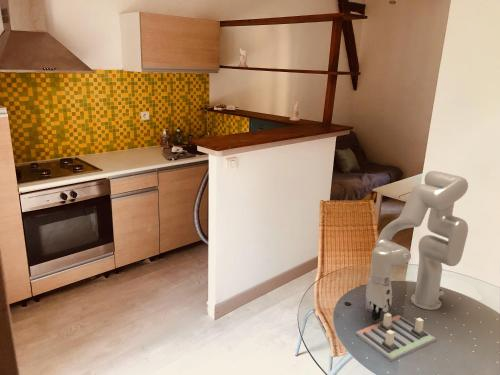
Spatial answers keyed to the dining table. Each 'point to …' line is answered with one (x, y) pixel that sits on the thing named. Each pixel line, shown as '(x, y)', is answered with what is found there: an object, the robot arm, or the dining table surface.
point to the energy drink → (368, 305)
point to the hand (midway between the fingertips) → (375, 318)
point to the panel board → (395, 338)
